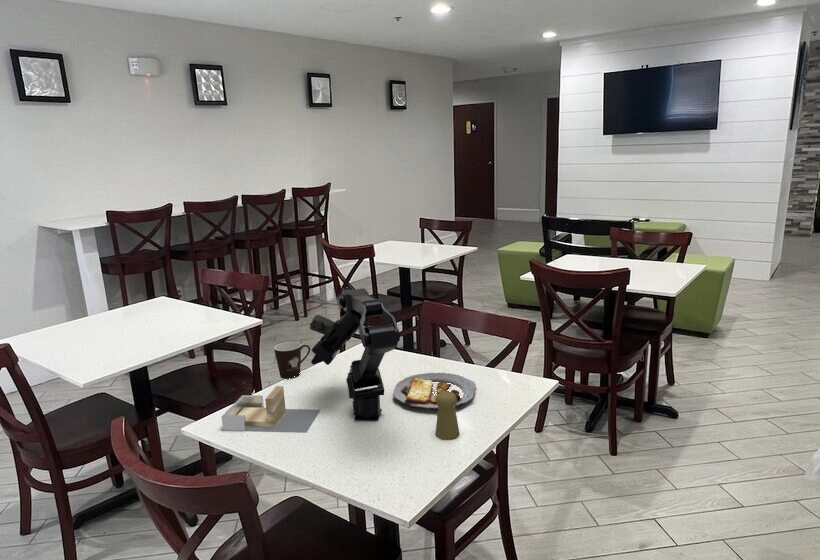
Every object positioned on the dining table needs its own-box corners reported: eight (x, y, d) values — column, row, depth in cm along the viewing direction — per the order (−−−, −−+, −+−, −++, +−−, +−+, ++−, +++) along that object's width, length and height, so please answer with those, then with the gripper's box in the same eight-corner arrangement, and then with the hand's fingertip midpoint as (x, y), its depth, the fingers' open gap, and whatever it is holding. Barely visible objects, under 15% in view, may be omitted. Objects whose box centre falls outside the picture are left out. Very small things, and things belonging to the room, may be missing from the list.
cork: (444, 426, 143) (443, 386, 140) (464, 432, 139) (463, 392, 136) (430, 435, 138) (429, 394, 136) (450, 442, 134) (449, 400, 132)
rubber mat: (320, 410, 154) (320, 409, 154) (306, 433, 142) (306, 432, 141) (242, 409, 157) (242, 408, 157) (221, 432, 144) (221, 430, 144)
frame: (264, 408, 156) (262, 395, 155) (245, 431, 144) (243, 417, 143) (243, 408, 157) (242, 395, 156) (223, 430, 144) (221, 416, 143)
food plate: (470, 416, 147) (470, 404, 146) (385, 412, 152) (385, 400, 151) (478, 381, 171) (477, 370, 170) (404, 378, 176) (404, 368, 175)
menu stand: (286, 413, 153) (283, 386, 151) (275, 427, 145) (272, 398, 143) (244, 412, 154) (241, 385, 153) (232, 426, 147) (228, 398, 145)
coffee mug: (277, 382, 175) (274, 352, 173) (276, 372, 183) (273, 343, 181) (314, 376, 178) (311, 347, 176) (311, 367, 186) (309, 339, 184)
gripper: (334, 298, 163) (301, 333, 167) (316, 316, 145) (279, 356, 149) (362, 323, 164) (328, 358, 167) (347, 345, 146) (310, 383, 149)
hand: (312, 363), depth 158 cm, fingers closed
